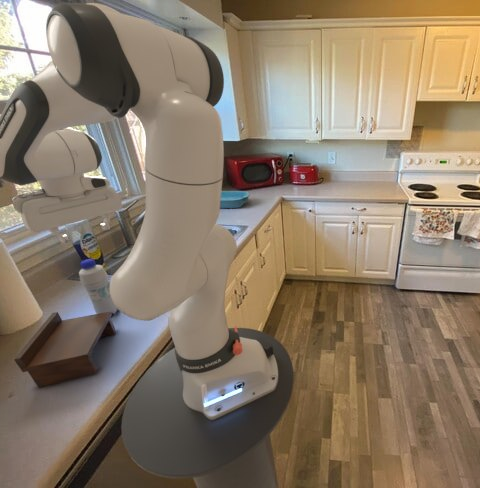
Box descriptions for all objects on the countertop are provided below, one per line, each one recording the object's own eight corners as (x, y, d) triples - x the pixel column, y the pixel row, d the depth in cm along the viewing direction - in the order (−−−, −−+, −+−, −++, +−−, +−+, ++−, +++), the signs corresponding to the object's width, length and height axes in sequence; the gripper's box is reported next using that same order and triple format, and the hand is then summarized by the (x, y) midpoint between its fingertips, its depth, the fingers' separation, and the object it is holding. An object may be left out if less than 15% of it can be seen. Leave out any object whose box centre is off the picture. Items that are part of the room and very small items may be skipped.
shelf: (118, 329, 86) (107, 303, 81) (97, 374, 71) (82, 345, 67) (67, 340, 82) (52, 312, 78) (34, 389, 68) (13, 359, 63)
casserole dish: (192, 209, 189) (189, 199, 186) (207, 199, 209) (205, 190, 206) (244, 210, 186) (243, 199, 183) (255, 200, 206) (253, 190, 203)
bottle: (92, 316, 91) (66, 263, 83) (112, 304, 97) (90, 253, 88) (106, 321, 89) (82, 267, 81) (126, 308, 95) (105, 256, 86)
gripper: (12, 197, 60) (42, 253, 66) (115, 178, 76) (131, 225, 82) (3, 193, 64) (32, 248, 69) (104, 176, 79) (121, 221, 85)
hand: (87, 235), depth 76 cm, fingers open, 8 cm apart
